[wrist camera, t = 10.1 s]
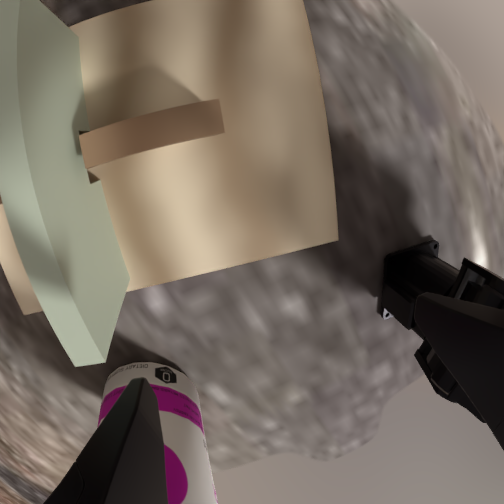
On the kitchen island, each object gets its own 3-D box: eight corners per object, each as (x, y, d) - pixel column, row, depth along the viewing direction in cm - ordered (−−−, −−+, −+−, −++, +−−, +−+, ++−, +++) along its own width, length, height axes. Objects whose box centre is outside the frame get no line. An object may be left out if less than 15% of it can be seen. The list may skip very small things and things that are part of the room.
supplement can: (95, 356, 20) (66, 529, 6) (194, 354, 22) (227, 538, 8) (118, 417, 23) (116, 555, 9) (200, 415, 25) (230, 556, 11)
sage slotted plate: (56, 46, 11) (-9, 4, 4) (78, 37, 11) (22, -15, 4) (108, 283, 17) (75, 366, 10) (130, 278, 18) (105, 362, 10)
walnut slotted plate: (211, 108, 15) (219, 98, 11) (216, 135, 16) (225, 132, 12) (-14, 186, 13) (-48, 199, 9) (-8, 208, 13) (-41, 225, 10)
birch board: (294, -5, 14) (299, -11, 13) (332, 235, 21) (338, 240, 20) (-27, 87, 10) (-34, 86, 10) (28, 308, 17) (24, 315, 17)
